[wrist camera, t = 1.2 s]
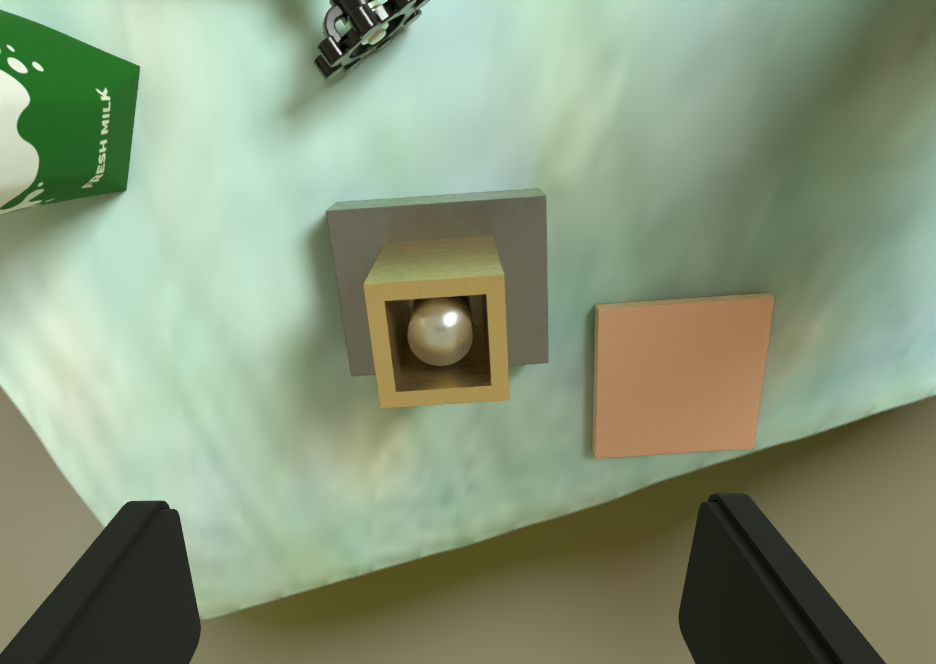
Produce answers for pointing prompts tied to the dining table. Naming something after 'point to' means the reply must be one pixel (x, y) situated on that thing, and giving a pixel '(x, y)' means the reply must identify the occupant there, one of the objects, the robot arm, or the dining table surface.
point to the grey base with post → (451, 318)
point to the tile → (679, 374)
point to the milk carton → (61, 116)
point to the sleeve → (430, 276)
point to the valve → (361, 31)
